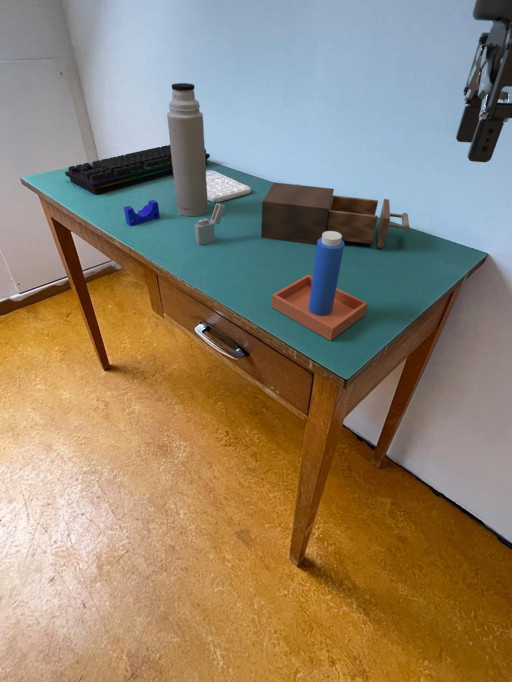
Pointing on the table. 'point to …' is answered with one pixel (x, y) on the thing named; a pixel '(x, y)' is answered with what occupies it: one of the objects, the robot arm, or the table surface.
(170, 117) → the thermos bottle
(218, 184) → the calculator
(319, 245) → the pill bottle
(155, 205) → the cable holder
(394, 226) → the drawer
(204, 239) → the lighter
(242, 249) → the table surface
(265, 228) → the cabinet
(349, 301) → the tray
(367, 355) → the table surface
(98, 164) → the keyboard
